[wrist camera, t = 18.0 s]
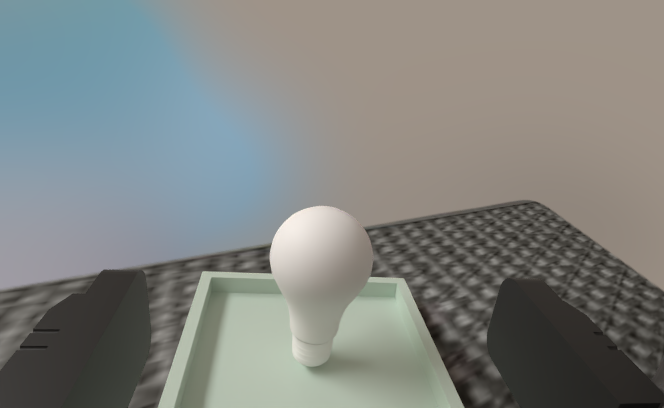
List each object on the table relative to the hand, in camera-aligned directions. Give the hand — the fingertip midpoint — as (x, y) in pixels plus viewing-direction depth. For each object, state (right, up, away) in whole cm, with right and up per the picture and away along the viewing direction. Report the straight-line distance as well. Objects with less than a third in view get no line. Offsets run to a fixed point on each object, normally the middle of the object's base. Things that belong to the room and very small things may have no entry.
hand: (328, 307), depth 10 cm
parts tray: (-1, -8, +19) cm, 21 cm away
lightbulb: (-1, -8, +19) cm, 21 cm away
